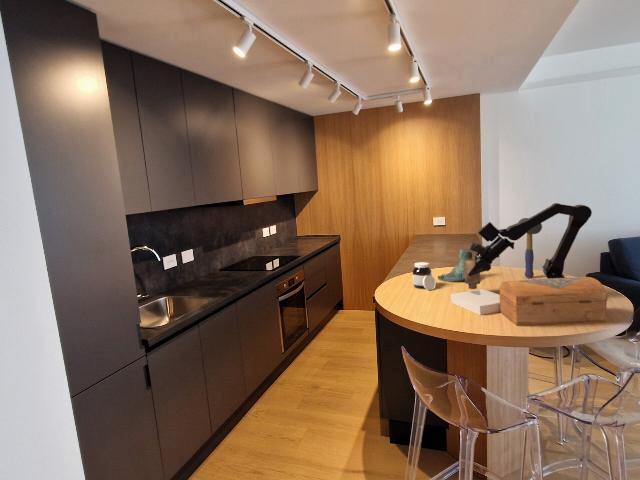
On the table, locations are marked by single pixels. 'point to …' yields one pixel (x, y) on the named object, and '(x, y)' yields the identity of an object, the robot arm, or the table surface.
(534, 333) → the table surface
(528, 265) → the rubber mallet
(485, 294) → the white board
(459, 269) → the tree stump
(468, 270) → the walnut peg
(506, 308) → the wooden box
